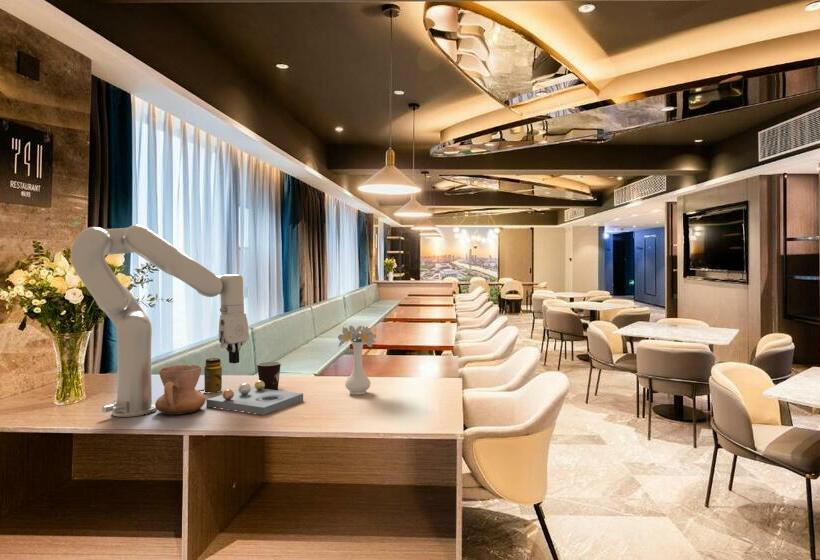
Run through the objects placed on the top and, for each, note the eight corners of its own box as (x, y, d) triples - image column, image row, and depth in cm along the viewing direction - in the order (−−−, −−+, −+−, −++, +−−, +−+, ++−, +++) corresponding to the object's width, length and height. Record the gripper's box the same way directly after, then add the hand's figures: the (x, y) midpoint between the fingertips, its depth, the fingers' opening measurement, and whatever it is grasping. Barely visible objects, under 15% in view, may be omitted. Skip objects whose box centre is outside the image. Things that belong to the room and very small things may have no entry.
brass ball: (260, 391, 177) (260, 381, 177) (252, 390, 178) (252, 380, 178) (266, 389, 180) (266, 379, 180) (259, 388, 182) (259, 379, 182)
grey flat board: (206, 406, 166) (206, 399, 166) (249, 393, 184) (249, 386, 184) (263, 415, 156) (263, 407, 156) (303, 400, 174) (303, 393, 174)
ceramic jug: (171, 404, 169) (171, 362, 169) (214, 404, 169) (213, 362, 169) (141, 420, 152) (141, 373, 151) (189, 420, 151) (188, 373, 151)
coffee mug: (266, 393, 184) (266, 366, 184) (252, 390, 189) (252, 364, 189) (291, 388, 193) (291, 362, 193) (277, 385, 199) (277, 359, 198)
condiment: (225, 391, 189) (225, 359, 189) (203, 395, 183) (203, 362, 183) (217, 387, 194) (217, 356, 194) (195, 391, 188) (195, 359, 188)
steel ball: (244, 396, 170) (244, 384, 170) (235, 395, 171) (235, 383, 171) (253, 394, 173) (253, 382, 173) (244, 393, 175) (244, 381, 175)
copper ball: (228, 401, 163) (228, 391, 163) (220, 400, 165) (220, 389, 165) (236, 399, 166) (236, 388, 166) (228, 398, 168) (228, 387, 168)
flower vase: (379, 387, 195) (379, 322, 194) (369, 399, 176) (369, 328, 176) (346, 386, 196) (346, 322, 196) (333, 398, 178) (333, 327, 177)
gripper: (224, 312, 166) (226, 367, 167) (256, 308, 180) (257, 359, 180) (207, 311, 169) (209, 366, 170) (239, 308, 183) (241, 358, 183)
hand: (234, 362), depth 175 cm, fingers closed
